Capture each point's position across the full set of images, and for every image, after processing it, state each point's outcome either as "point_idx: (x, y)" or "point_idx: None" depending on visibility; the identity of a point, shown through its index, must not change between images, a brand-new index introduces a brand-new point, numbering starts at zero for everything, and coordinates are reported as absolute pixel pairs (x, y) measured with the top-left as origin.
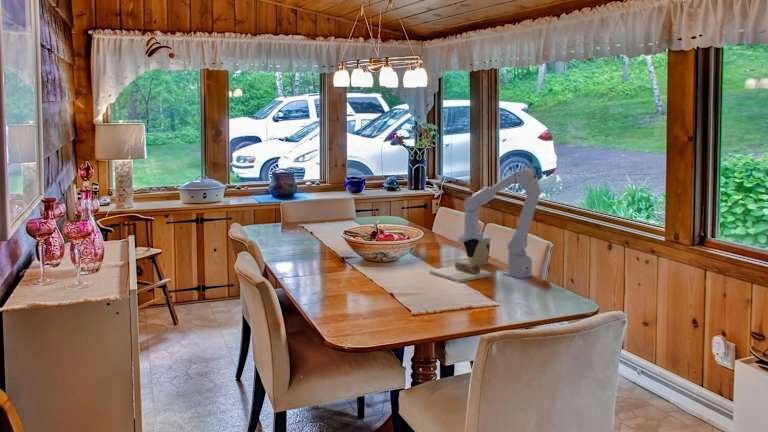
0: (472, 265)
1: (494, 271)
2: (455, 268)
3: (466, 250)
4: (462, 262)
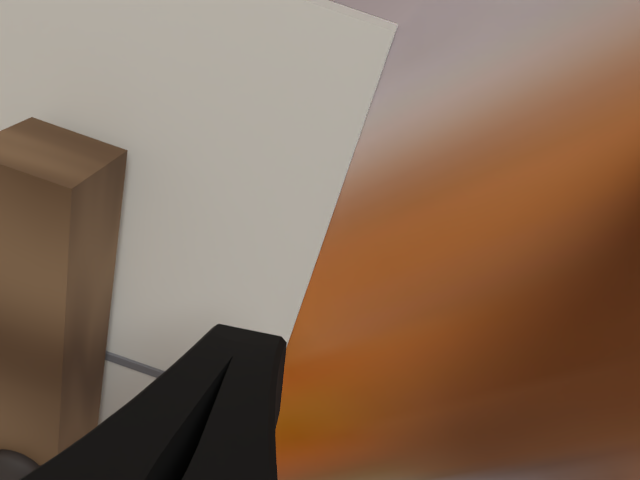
0: (48, 431)
1: (427, 471)
2: (69, 99)
3: (119, 416)
4: (66, 255)
